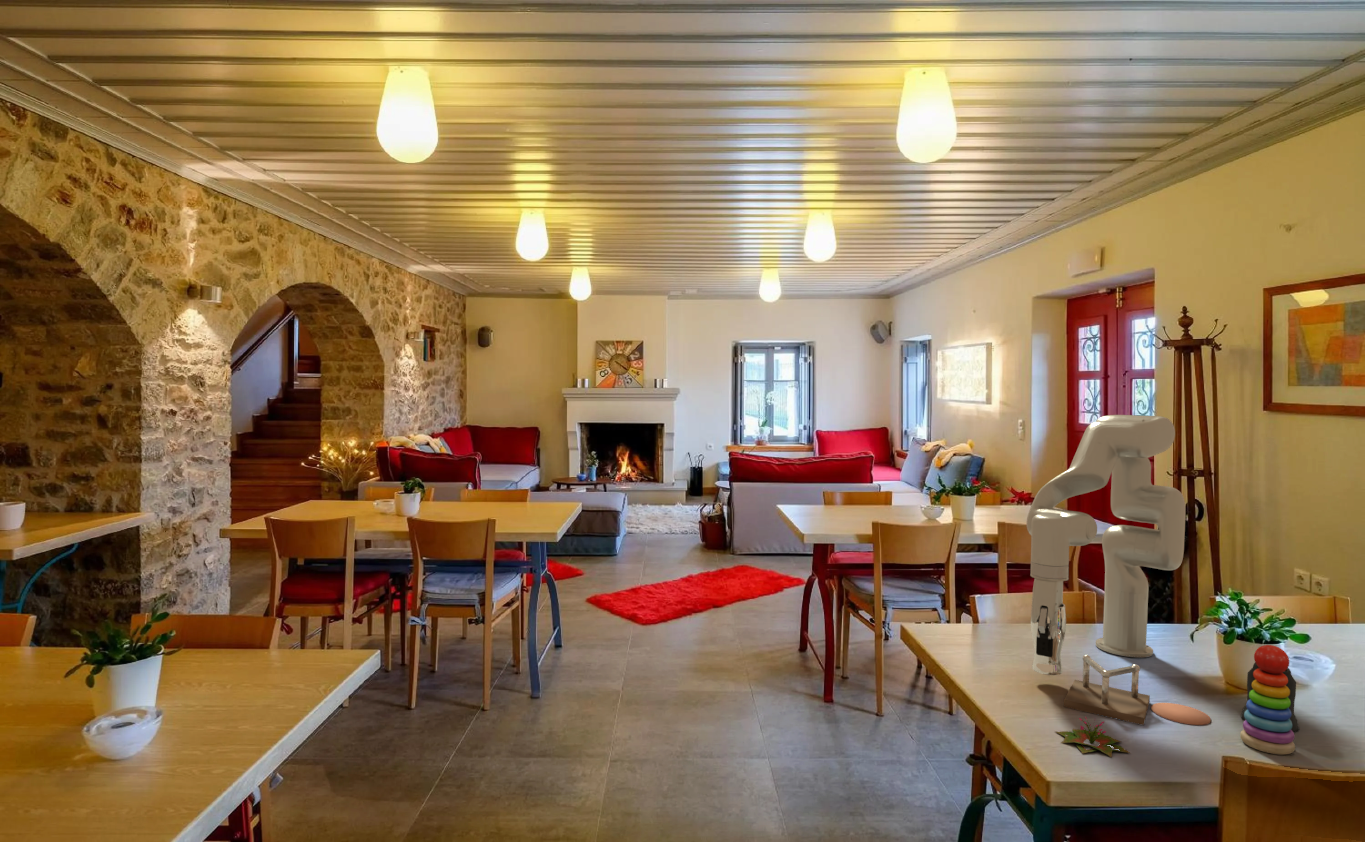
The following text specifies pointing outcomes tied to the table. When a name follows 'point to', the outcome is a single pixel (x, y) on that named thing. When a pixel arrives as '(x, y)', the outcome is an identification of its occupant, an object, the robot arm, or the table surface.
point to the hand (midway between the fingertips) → (1047, 650)
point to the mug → (1292, 688)
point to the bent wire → (1106, 674)
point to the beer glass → (1058, 633)
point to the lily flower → (1092, 739)
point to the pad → (1181, 713)
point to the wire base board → (1117, 706)
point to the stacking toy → (1269, 704)
